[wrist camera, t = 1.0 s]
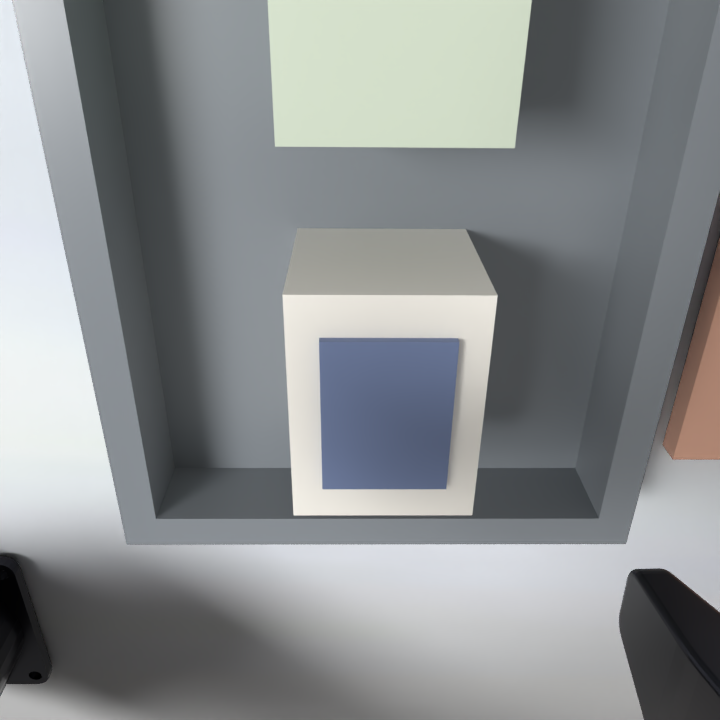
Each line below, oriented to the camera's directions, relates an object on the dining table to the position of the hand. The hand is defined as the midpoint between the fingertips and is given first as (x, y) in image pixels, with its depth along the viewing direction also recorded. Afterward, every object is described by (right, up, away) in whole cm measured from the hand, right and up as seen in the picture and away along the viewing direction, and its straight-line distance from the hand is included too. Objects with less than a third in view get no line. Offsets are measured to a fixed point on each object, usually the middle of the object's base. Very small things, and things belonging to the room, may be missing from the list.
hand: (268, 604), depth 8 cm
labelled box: (+2, +4, +11) cm, 12 cm away
